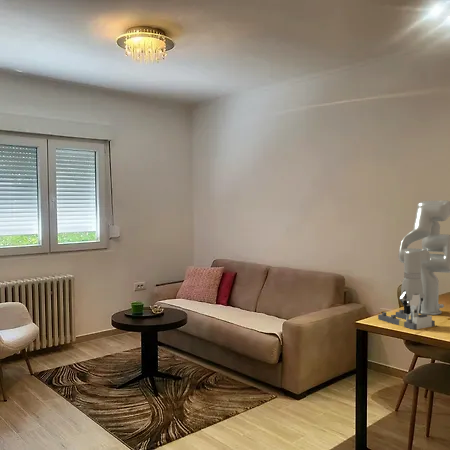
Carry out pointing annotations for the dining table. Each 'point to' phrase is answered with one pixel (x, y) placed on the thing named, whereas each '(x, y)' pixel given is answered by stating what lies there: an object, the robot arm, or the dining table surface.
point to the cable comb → (418, 322)
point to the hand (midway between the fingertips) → (412, 312)
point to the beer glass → (413, 307)
